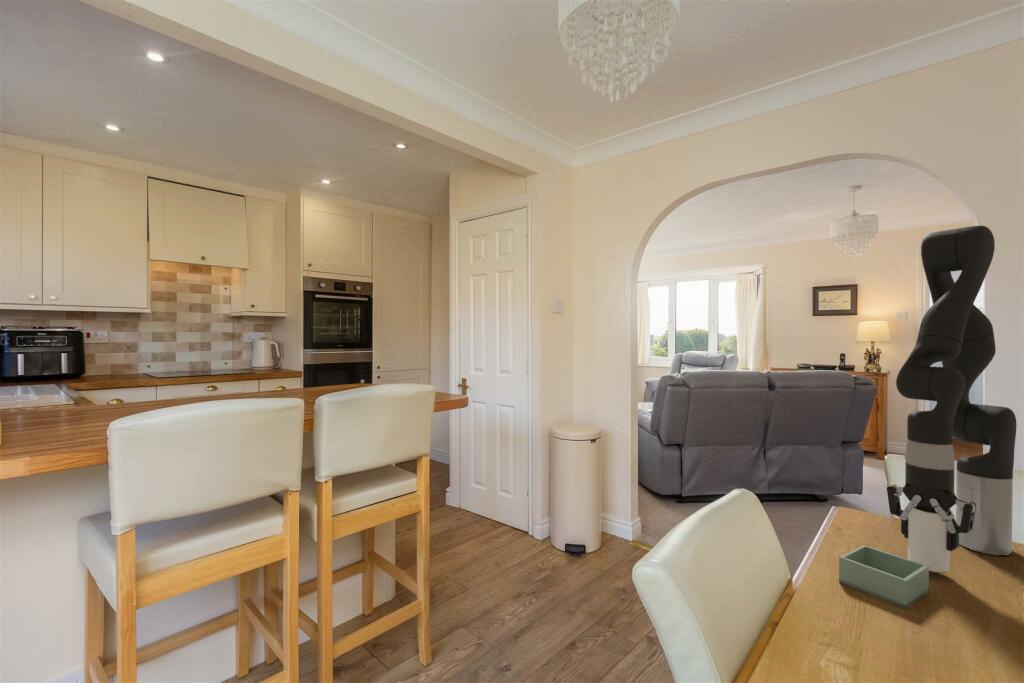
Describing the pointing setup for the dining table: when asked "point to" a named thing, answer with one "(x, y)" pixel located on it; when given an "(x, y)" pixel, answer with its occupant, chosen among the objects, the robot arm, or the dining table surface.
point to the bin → (884, 575)
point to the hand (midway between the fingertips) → (928, 543)
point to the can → (928, 540)
